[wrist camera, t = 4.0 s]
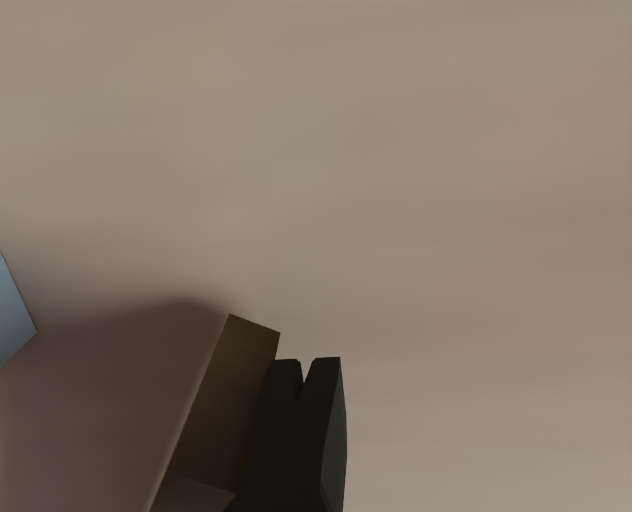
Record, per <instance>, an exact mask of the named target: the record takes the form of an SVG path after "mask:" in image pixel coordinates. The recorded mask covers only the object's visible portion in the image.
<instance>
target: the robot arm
mask: <svg viewBox="0 0 632 512" xmlns="http://www.w3.org/2000/svg"><path fill="white" fill-rule="evenodd" d="M346 463H347V427H346V409H345V400H344V390H343V381H342V371H341V362H340V357H324V358H315V359H314V360H313V361H312V364H311V367H310V369H309V372H308V375H307V377H306V379H305V382H303V375H302V369H301V363H300V362H299V361H298V360H297V359H281V360H272V361H271V363H270V366H269V368H268V370H267V373H266V375H265V378H264V382H263V387H262V393H261V399H260V405H259V411H258V417H257V423H256V430H255V436H254V442H253V447H252V451H251V456H250V460H249V463H248V466H247V469H246V473H245V476H244V479H243V482H242V485H241V488H240V490H239V491H238V492H237V493H236V495H235V496H234V497H233V498H232V500H231V501H230V502H229V503H228V505H227V506H226V507H225V508H224V510H223V511H222V512H343V501H344V488H345V476H346Z"/></svg>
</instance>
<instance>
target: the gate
mask: <svg viewBox="0 0 632 512" xmlns="http://www.w3.org/2000/svg"><path fill="white" fill-rule="evenodd" d="M279 337H280V332H277V331H275V330H272V329H269V328H267V327H264V326H261V325H259V324H256V323H253V322H251V321H248V320H246V319H243V318H240V317H238V316H235V315H232V314H229V316H228V319H227V321H226V324H225V326H224V329H223V331H222V333H221V336H220V338H219V341H218V343H217V346H216V348H215V350H214V353H213V355H212V358H211V360H210V363H209V365H208V368H207V370H206V372H205V375H204V377H203V380H202V382H201V385H200V387H199V390H198V392H197V394H196V397H195V399H194V402H193V404H192V407H191V409H190V412H189V414H188V416H187V419H186V421H185V424H184V426H183V429H182V431H181V434H180V436H179V438H178V441H177V443H176V446H175V448H174V451H173V453H172V456H171V458H170V460H169V463H168V465H167V468H166V470H165V473H164V475H163V478H162V480H161V482H160V485H159V487H158V490H157V492H156V495H155V497H154V499H153V502H152V504H151V507H150V509H149V512H222V511H223V510H224V508H225V507H226V506H227V505H228V503H229V502H230V501H231V500H232V498H233V497H234V496H235V495H236V493H237V492H238V491H239V490H240V488H241V485H242V482H243V479H244V476H245V473H246V469H247V466H248V463H249V460H250V456H251V451H252V447H253V442H254V436H255V430H256V423H257V417H258V411H259V405H260V399H261V393H262V387H263V382H264V378H265V375H266V373H267V370H268V368H269V366H270V363H271V361H272V360H275V356H276V352H277V347H278V342H279Z"/></svg>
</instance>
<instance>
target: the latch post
mask: <svg viewBox="0 0 632 512" xmlns="http://www.w3.org/2000/svg"><path fill="white" fill-rule="evenodd" d="M36 333H37V330H36V328H35V326H34V324H33V322H32V320H31V317H30V315H29V313H28V311H27V309H26V307H25V304H24V302H23V300H22V298H21V296H20V294H19V292H18V289H17V287H16V285H15V283H14V281H13V279H12V276H11V274H10V272H9V270H8V268H7V266H6V263H5V261H4V259H3V257H2V255H1V253H0V369H1V368H2V367H3V366H4V365H5V364H6V363H7V362H8V361H9V360H10V359H11V358H12V357H13V356H14V355H15V354H16V353H17V352H18V351H19V350H20V349H21V348H22V347H23V346H24V345H25V344H26V343H27V342H28V341H29V340H30V339H31V338H32V337H33V336H34V335H35V334H36Z"/></svg>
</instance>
